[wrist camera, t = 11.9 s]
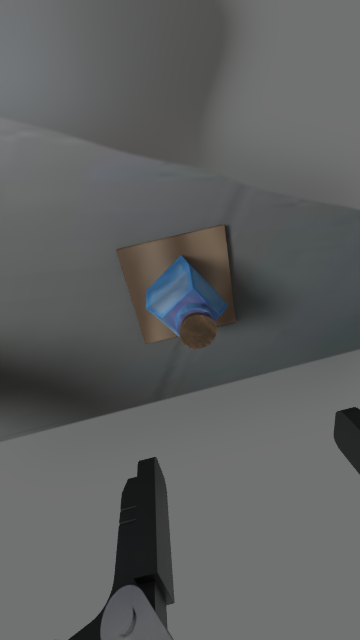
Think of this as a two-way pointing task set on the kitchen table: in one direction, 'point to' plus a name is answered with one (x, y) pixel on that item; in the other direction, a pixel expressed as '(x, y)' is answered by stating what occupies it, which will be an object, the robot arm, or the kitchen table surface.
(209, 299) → the perfume bottle
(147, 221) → the kitchen table surface
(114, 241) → the kitchen table surface
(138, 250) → the walnut board
